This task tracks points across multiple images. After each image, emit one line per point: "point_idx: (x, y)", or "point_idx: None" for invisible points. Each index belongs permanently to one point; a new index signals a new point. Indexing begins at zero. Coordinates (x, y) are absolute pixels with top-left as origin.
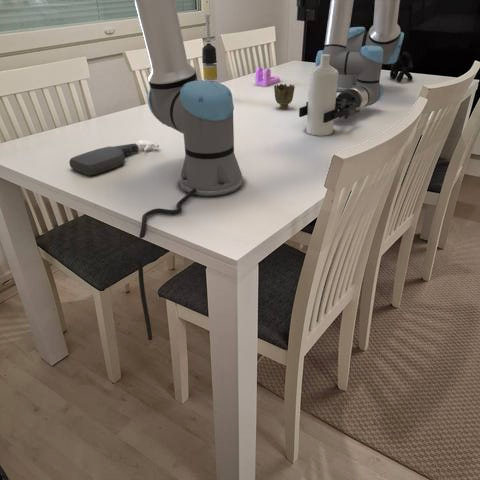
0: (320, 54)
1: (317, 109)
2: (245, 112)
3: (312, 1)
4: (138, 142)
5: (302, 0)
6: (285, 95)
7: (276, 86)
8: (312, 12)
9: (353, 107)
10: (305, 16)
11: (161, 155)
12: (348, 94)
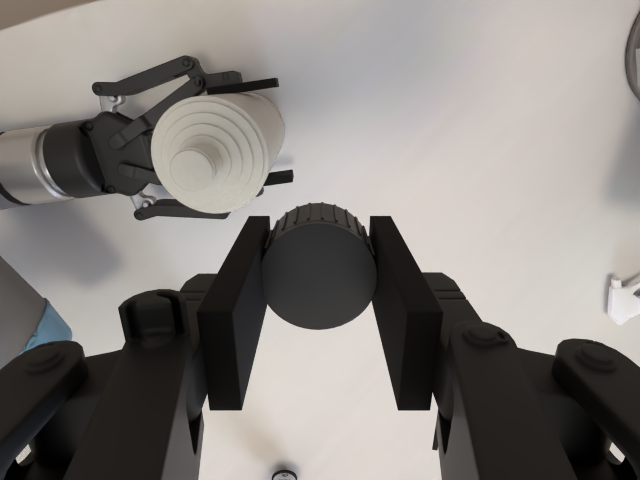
0: None
1: (274, 120)
2: (291, 357)
3: (251, 322)
4: (635, 313)
5: (437, 299)
6: None
7: None
8: (322, 220)
9: (143, 71)
10: (382, 225)
11: (624, 249)
12: (85, 153)
